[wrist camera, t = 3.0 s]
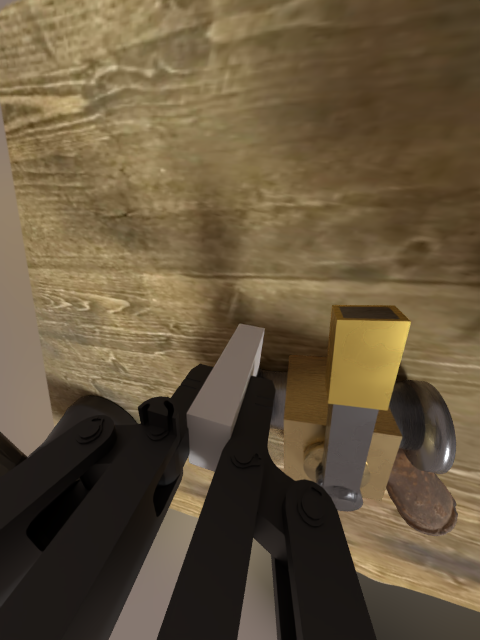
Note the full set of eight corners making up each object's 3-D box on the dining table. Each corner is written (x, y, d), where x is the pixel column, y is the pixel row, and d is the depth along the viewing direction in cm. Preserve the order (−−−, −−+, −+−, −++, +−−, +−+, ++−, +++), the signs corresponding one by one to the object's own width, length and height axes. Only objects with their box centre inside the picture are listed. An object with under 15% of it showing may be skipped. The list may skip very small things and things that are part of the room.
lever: (354, 490, 17) (360, 518, 15) (314, 482, 18) (315, 508, 16) (396, 305, 10) (414, 321, 9) (330, 305, 11) (334, 320, 10)
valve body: (255, 401, 29) (236, 478, 21) (251, 352, 26) (226, 419, 17) (400, 420, 25) (452, 528, 16) (418, 363, 21) (496, 461, 13)
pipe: (291, 456, 25) (304, 520, 27) (476, 472, 19) (474, 551, 22) (294, 418, 31) (305, 473, 33) (437, 422, 25) (438, 488, 28)
